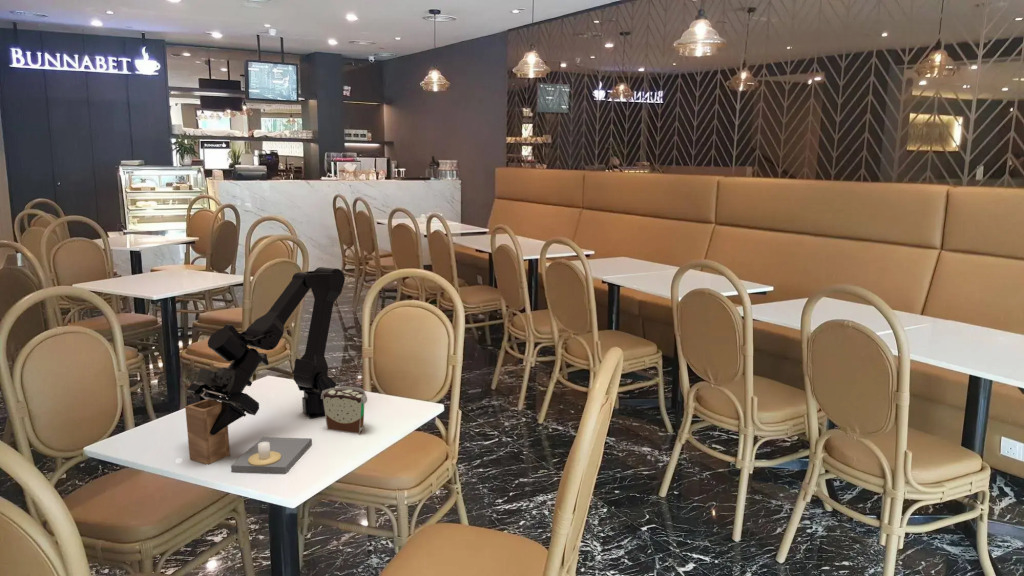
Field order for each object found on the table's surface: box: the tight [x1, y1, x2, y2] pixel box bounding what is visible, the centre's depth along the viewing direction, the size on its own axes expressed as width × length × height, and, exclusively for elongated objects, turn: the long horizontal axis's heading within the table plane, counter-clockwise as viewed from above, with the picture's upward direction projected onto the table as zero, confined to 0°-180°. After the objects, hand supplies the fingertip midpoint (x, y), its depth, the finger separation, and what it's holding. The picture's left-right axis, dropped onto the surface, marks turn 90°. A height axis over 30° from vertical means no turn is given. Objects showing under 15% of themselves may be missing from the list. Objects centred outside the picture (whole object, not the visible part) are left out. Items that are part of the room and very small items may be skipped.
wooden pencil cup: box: [184, 399, 231, 465], centre depth 156 cm, size 6×6×12 cm
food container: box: [321, 386, 368, 435], centre depth 174 cm, size 12×6×10 cm, turn 71°
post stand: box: [230, 436, 313, 475], centre depth 156 cm, size 16×12×5 cm
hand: (202, 431), depth 155 cm, fingers closed on wooden pencil cup, 6 cm apart
